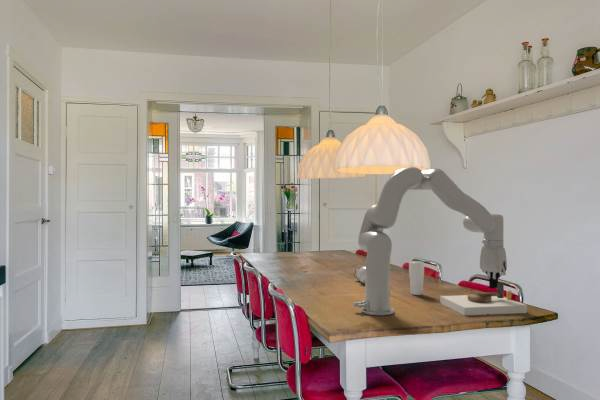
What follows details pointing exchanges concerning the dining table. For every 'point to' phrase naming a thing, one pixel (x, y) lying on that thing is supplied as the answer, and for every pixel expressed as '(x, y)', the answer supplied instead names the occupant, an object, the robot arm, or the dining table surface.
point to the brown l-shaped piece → (488, 294)
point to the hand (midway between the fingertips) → (493, 287)
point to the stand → (483, 305)
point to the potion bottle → (360, 274)
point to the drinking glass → (416, 277)
